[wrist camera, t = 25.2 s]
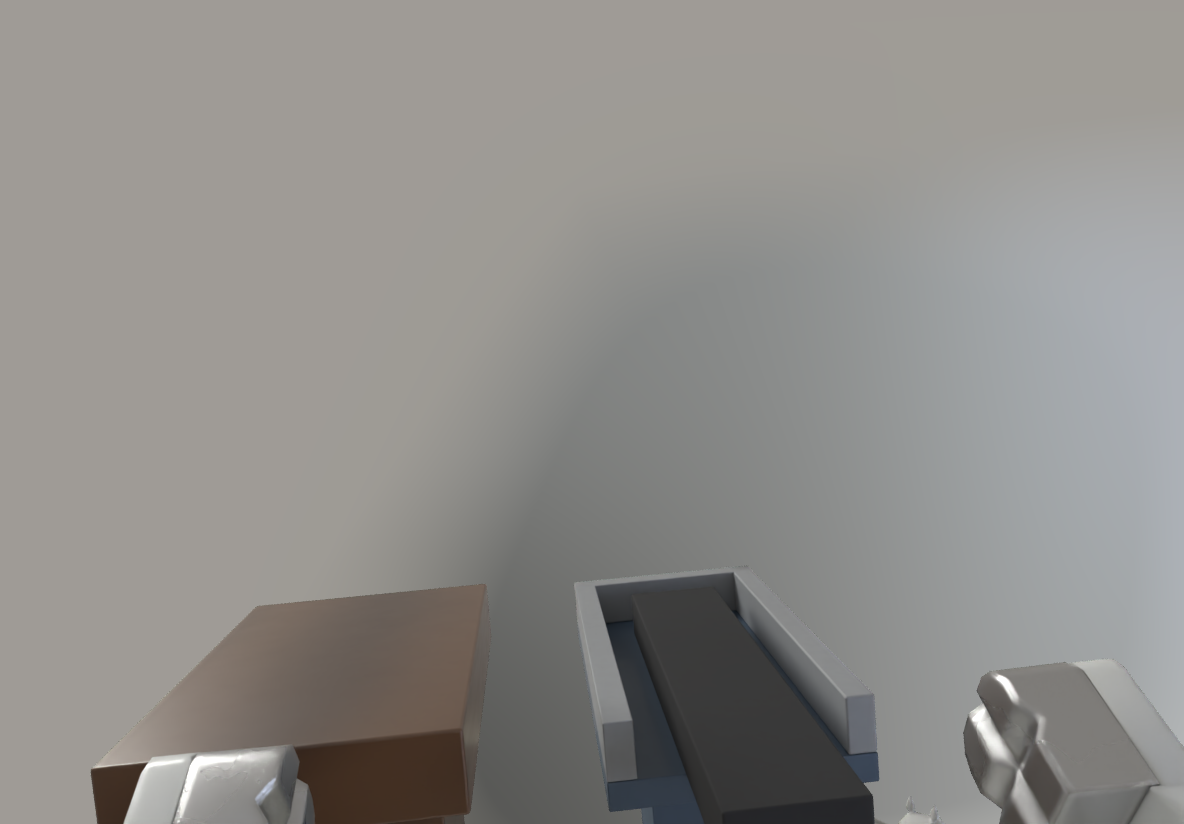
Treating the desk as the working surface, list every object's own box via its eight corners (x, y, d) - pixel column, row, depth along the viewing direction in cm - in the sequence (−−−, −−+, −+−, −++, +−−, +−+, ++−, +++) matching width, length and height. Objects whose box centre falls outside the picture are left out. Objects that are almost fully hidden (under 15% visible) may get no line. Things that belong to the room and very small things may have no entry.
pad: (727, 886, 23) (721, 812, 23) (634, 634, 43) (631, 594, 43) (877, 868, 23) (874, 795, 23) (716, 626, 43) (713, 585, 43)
